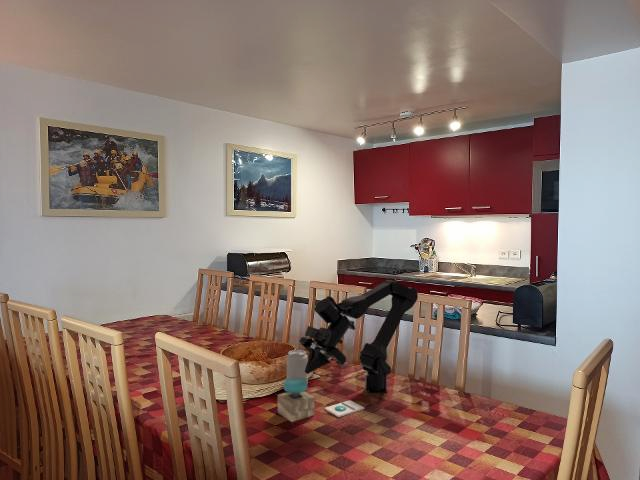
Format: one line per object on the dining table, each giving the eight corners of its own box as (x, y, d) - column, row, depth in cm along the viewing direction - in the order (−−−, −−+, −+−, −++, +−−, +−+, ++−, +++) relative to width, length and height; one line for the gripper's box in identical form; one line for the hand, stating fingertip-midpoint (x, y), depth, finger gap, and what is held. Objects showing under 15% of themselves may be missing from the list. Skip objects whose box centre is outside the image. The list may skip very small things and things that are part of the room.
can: (282, 387, 160) (282, 353, 160) (293, 380, 167) (293, 347, 166) (301, 390, 157) (300, 356, 156) (311, 383, 163) (311, 350, 163)
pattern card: (349, 401, 147) (349, 399, 147) (364, 409, 141) (364, 406, 141) (324, 409, 141) (324, 407, 141) (338, 417, 135) (338, 415, 135)
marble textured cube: (299, 406, 143) (299, 389, 143) (314, 415, 137) (314, 397, 137) (277, 412, 139) (277, 394, 139) (291, 422, 132) (291, 403, 132)
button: (299, 391, 142) (299, 376, 142) (311, 398, 137) (311, 382, 137) (279, 396, 138) (279, 381, 138) (291, 404, 133) (291, 387, 133)
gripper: (304, 311, 150) (274, 350, 144) (338, 321, 134) (307, 365, 128) (323, 332, 154) (295, 370, 148) (359, 344, 139) (329, 387, 133)
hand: (306, 372), depth 140 cm, fingers closed
